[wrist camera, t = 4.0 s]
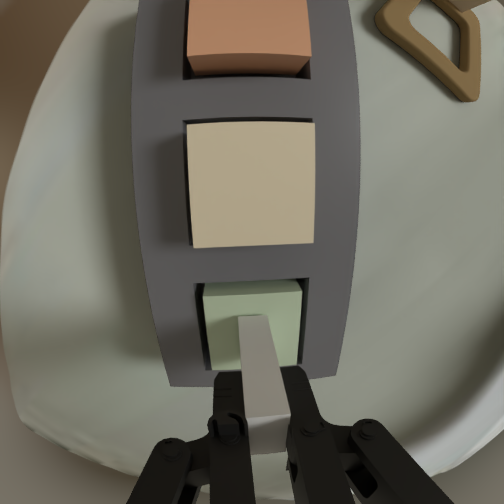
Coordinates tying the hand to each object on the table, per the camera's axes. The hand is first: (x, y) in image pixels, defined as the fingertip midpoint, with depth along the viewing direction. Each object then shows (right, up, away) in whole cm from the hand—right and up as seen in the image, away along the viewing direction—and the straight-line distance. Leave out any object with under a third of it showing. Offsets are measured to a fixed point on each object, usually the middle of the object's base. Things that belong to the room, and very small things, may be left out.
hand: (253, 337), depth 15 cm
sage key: (0, +1, +3) cm, 3 cm away
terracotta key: (0, +16, -4) cm, 16 cm away
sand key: (0, +8, -1) cm, 8 cm away
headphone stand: (+15, +23, -1) cm, 28 cm away
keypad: (0, +9, +2) cm, 9 cm away
